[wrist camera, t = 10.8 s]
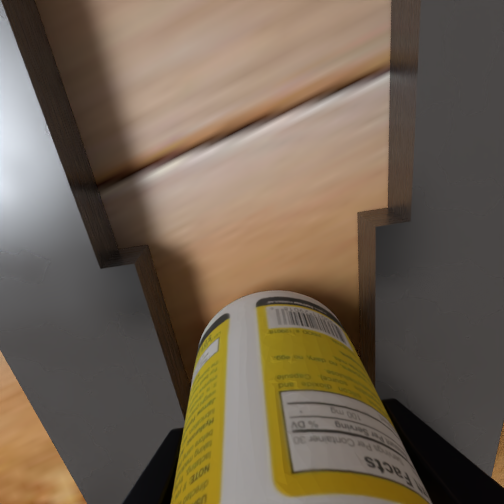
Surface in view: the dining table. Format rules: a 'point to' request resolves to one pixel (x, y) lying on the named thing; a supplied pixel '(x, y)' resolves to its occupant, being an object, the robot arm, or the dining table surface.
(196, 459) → the supplement bottle
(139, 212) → the dining table surface
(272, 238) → the dining table surface
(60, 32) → the dining table surface
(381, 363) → the keyhole plate
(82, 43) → the dining table surface
